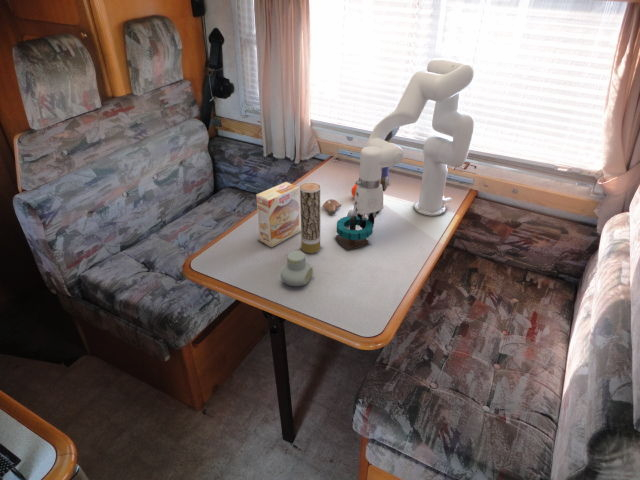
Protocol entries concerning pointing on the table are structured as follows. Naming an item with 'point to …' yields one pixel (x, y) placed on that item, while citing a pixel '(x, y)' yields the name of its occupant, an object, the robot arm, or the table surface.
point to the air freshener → (296, 269)
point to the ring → (354, 233)
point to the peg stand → (352, 243)
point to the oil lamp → (331, 206)
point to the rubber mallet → (388, 138)
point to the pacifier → (349, 213)
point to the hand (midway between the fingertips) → (366, 226)
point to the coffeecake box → (278, 213)
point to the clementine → (354, 190)
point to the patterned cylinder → (310, 217)
